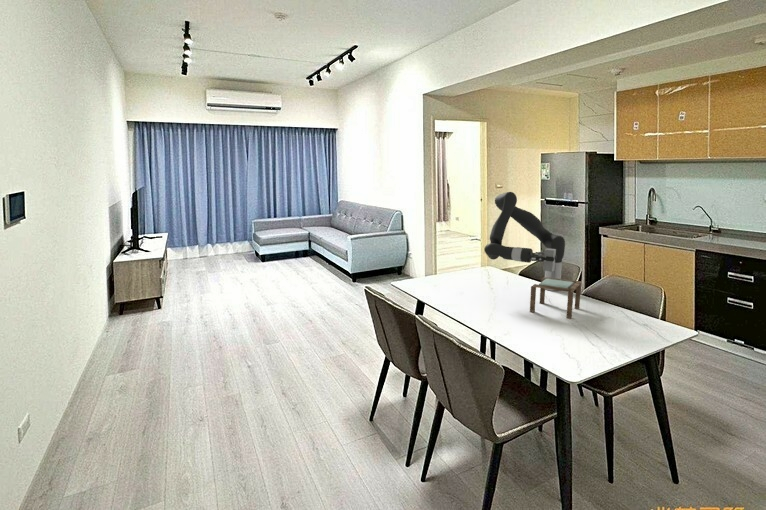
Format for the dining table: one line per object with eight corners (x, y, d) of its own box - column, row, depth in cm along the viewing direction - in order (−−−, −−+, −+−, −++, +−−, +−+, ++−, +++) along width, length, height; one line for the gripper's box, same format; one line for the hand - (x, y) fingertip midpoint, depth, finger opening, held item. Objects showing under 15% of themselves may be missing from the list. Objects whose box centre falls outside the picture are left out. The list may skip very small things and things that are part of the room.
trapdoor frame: (540, 302, 253) (542, 276, 251) (579, 308, 242) (581, 281, 240) (529, 312, 237) (531, 284, 234) (570, 318, 226) (572, 290, 223)
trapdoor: (546, 280, 247) (546, 278, 247) (575, 284, 239) (575, 281, 238) (538, 286, 235) (538, 284, 235) (568, 290, 227) (568, 288, 227)
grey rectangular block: (545, 268, 241) (547, 248, 239) (554, 270, 239) (556, 249, 236) (543, 270, 238) (544, 249, 235) (552, 271, 235) (553, 250, 233)
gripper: (518, 249, 238) (552, 253, 229) (526, 245, 250) (559, 249, 240) (517, 264, 240) (551, 268, 230) (525, 259, 251) (558, 263, 242)
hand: (555, 258), depth 235 cm, fingers closed on grey rectangular block, 4 cm apart
